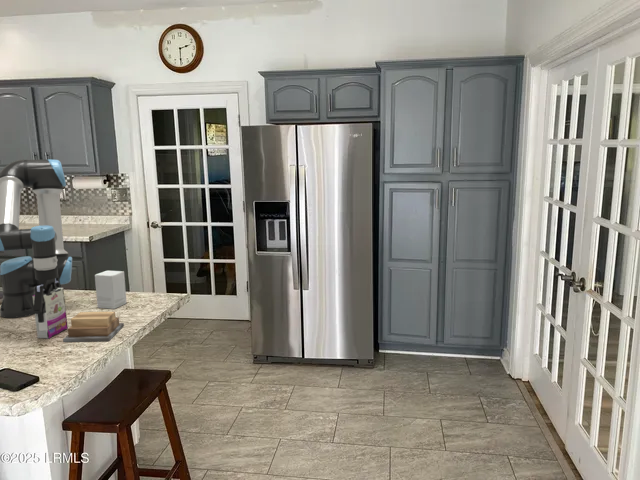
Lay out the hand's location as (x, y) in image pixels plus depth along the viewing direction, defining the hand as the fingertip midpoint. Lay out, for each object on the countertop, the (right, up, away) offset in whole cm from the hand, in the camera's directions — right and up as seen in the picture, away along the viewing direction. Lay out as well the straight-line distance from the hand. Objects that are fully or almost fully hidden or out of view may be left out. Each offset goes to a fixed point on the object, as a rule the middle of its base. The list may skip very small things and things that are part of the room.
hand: (51, 324), depth 185 cm
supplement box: (+8, +2, +35) cm, 36 cm away
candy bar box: (0, -4, +1) cm, 4 cm away
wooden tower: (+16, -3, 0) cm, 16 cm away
